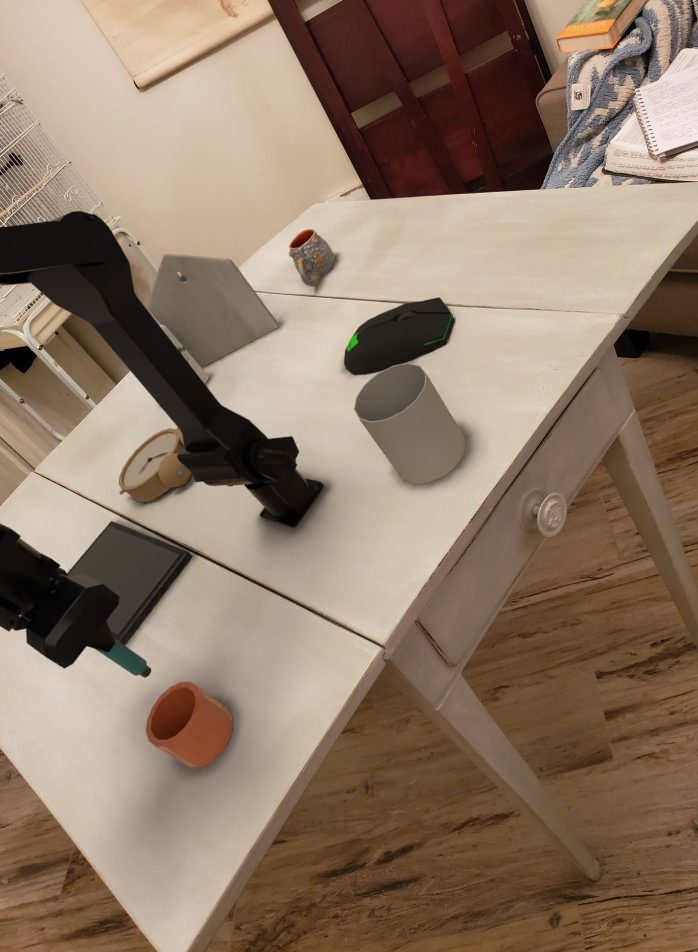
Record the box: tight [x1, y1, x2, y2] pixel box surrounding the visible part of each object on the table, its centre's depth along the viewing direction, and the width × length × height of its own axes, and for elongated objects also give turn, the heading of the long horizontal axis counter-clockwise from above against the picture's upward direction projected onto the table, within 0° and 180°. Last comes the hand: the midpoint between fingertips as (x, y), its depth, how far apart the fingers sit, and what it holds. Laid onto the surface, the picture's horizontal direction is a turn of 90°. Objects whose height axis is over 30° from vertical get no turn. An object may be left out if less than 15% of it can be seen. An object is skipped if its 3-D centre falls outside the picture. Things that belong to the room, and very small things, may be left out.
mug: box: [288, 228, 336, 287], centre depth 123 cm, size 12×7×7 cm, turn 174°
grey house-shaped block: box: [146, 253, 280, 369], centre depth 118 cm, size 16×8×19 cm, turn 96°
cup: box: [353, 362, 466, 485], centre depth 77 cm, size 8×8×10 cm
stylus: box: [94, 639, 152, 679], centre depth 64 cm, size 2×2×11 cm
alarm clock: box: [118, 427, 192, 503], centre depth 103 cm, size 11×5×15 cm
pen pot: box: [145, 681, 234, 769], centre depth 67 cm, size 6×6×5 cm
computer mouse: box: [343, 296, 455, 376], centre depth 98 cm, size 11×16×4 cm
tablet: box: [66, 520, 193, 646], centre depth 92 cm, size 20×13×1 cm, turn 54°
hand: (106, 644), depth 64 cm, fingers closed on stylus, 1 cm apart
